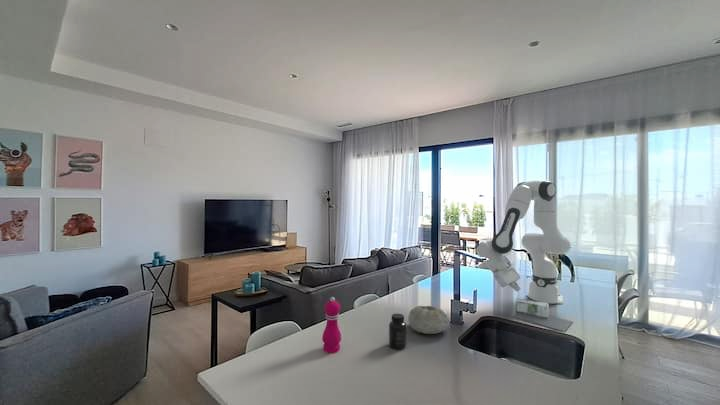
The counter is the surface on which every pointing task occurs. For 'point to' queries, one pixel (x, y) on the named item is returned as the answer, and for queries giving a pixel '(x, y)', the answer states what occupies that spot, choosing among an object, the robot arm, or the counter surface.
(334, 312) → the pepper mill
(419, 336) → the counter surface
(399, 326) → the supplement bottle
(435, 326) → the decorative shell
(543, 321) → the charcoal mat
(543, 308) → the syrup box
